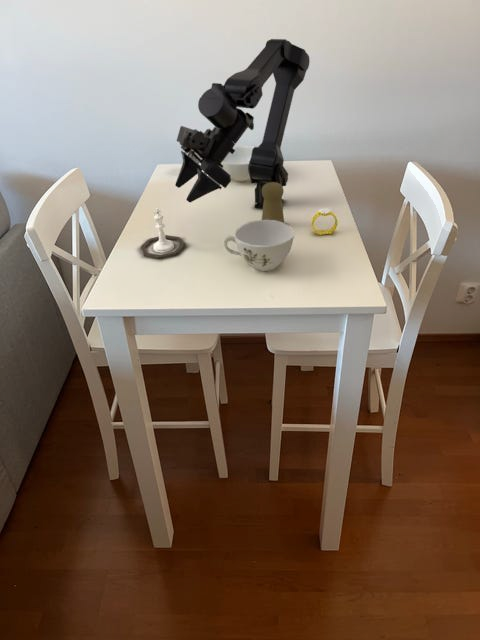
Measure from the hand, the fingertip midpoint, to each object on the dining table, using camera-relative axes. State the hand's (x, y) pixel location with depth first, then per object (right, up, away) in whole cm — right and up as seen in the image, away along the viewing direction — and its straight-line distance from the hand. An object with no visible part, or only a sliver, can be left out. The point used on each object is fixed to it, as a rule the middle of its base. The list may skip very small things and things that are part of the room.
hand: (182, 193), depth 105 cm
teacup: (+17, -16, -2) cm, 24 cm away
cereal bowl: (+14, +16, +39) cm, 45 cm away
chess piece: (-5, -11, +6) cm, 14 cm away
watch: (+33, -8, +8) cm, 35 cm away
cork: (+21, -5, +12) cm, 25 cm away
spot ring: (-5, -11, +6) cm, 14 cm away
